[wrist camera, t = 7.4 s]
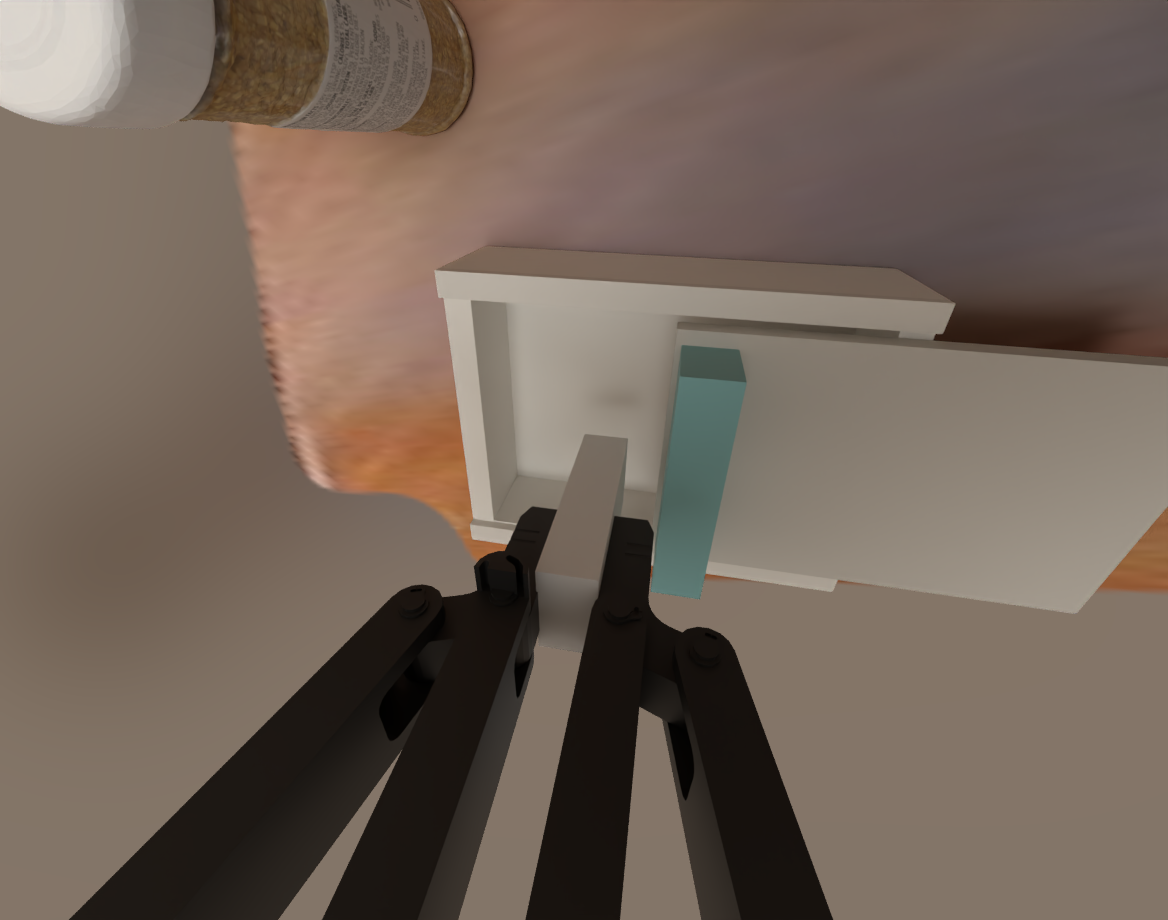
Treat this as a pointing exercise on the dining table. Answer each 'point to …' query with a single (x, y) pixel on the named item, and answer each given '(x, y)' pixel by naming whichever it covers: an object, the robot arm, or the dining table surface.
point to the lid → (907, 463)
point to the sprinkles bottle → (236, 63)
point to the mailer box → (623, 358)
